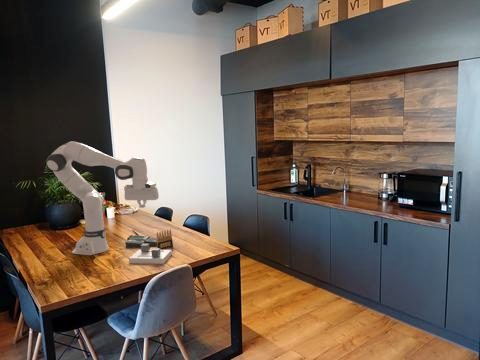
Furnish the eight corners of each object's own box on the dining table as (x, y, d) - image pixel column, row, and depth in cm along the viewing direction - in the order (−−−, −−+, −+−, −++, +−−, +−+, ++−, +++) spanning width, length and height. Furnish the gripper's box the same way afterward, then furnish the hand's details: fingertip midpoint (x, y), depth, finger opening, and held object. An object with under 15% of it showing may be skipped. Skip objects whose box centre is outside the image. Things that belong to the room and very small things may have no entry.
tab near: (151, 256, 218) (151, 250, 217) (154, 254, 221) (153, 248, 221) (158, 256, 217) (157, 250, 216) (160, 254, 221) (160, 248, 220)
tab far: (141, 251, 227) (140, 245, 226) (143, 249, 231) (143, 243, 230) (147, 251, 226) (146, 245, 226) (149, 249, 230) (149, 243, 229)
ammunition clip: (157, 250, 238) (156, 232, 236) (156, 249, 240) (155, 231, 238) (173, 246, 244) (171, 229, 242) (172, 246, 246) (170, 228, 244)
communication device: (159, 248, 244) (158, 235, 242) (124, 247, 247) (123, 235, 245) (165, 242, 256) (164, 229, 254) (132, 241, 259) (131, 229, 257)
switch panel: (129, 262, 219) (128, 257, 218) (139, 253, 233) (139, 249, 233) (163, 263, 215) (163, 258, 215) (172, 254, 230) (171, 249, 230)
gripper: (121, 185, 219) (123, 208, 221) (154, 185, 216) (156, 208, 218) (126, 183, 225) (128, 206, 227) (158, 183, 222) (160, 206, 224)
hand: (142, 207), depth 222 cm, fingers closed
